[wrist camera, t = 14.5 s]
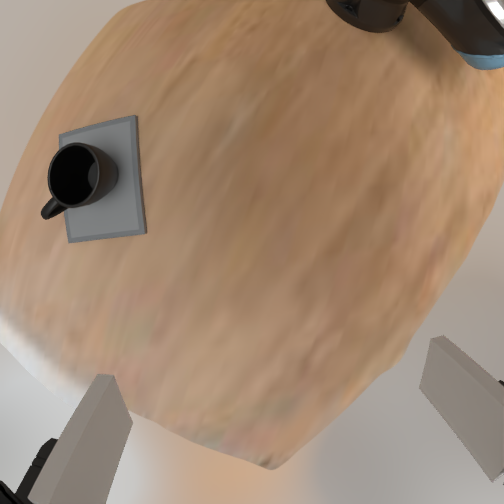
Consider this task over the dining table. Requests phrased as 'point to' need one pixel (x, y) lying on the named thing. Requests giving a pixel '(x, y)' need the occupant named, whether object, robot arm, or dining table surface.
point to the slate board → (122, 195)
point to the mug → (78, 178)
